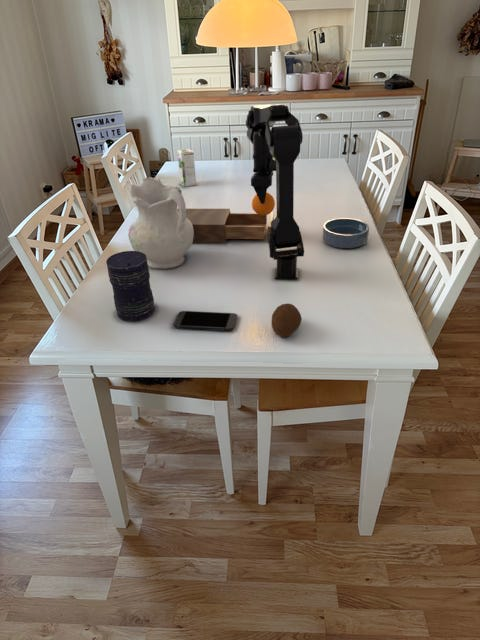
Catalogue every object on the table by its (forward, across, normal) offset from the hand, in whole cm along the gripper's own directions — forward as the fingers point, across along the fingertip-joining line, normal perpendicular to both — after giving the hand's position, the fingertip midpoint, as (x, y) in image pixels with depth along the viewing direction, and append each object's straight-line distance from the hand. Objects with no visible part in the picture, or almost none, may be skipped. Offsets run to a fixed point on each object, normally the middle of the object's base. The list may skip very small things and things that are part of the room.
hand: (263, 199), depth 155 cm
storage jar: (+13, -49, +30) cm, 59 cm away
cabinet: (+12, +1, +22) cm, 25 cm away
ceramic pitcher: (+13, -20, +28) cm, 37 cm away
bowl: (+13, -3, -26) cm, 29 cm away
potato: (+13, -55, -9) cm, 57 cm away
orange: (+5, 0, 0) cm, 5 cm away
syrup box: (+12, +56, +37) cm, 68 cm away
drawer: (+12, +1, +4) cm, 12 cm away
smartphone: (+13, -53, +11) cm, 56 cm away
